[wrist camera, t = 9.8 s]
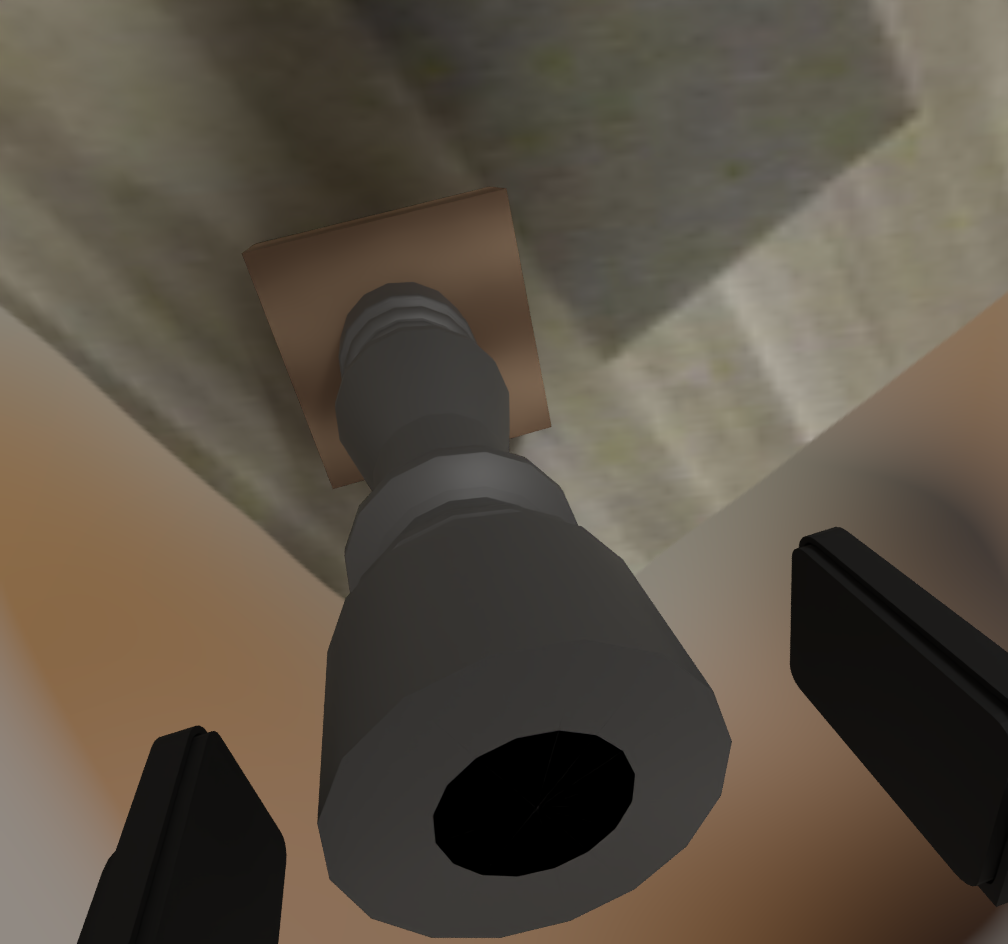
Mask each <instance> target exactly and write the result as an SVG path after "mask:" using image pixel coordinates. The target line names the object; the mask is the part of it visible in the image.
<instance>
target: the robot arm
mask: <svg viewBox="0 0 1008 944" xmlns="http://www.w3.org/2000/svg"><path fill="white" fill-rule="evenodd" d="M790 669H791V673H792V676H793V678H794V680H795V682H796V683H797V685H798V687H799V688H800V690H801V691H802V692H803V693H804V694H805V695H806V697H807V698H808V699H809V700H810V701H811V703H812V704H813V705H814V706H815V707H816V709H817V710H818V711H819V712H820V713H821V715H822V716H823V717H824V718H825V719H826V721H827V722H828V723H829V724H830V725H831V726H832V728H833V729H834V730H835V731H836V732H837V733H838V735H839V736H840V737H841V738H842V740H843V741H844V742H845V743H846V744H847V745H848V747H849V748H850V749H851V750H852V751H853V753H854V754H855V755H856V756H857V757H858V759H859V760H860V761H861V762H862V763H863V764H864V766H865V767H866V768H867V769H868V770H869V772H870V773H871V774H872V775H873V776H874V778H875V779H876V780H877V781H878V782H879V783H880V785H881V786H882V787H883V788H884V790H885V791H886V792H887V793H888V794H889V795H890V797H891V798H892V799H893V800H894V801H895V803H896V804H897V805H898V806H899V807H900V809H901V810H902V811H903V812H904V813H905V814H906V816H907V817H908V818H909V819H910V820H911V822H913V824H914V825H915V826H916V828H917V829H918V830H919V831H920V832H921V833H922V834H923V836H924V837H925V838H926V839H927V841H928V842H929V843H930V844H931V845H932V847H933V848H934V849H935V850H936V851H937V853H938V854H939V855H940V856H941V857H942V858H943V860H944V861H945V862H946V863H947V864H948V866H949V867H950V868H951V869H952V870H953V872H954V873H955V874H956V875H957V876H958V877H959V878H960V879H961V880H963V881H964V882H965V883H966V884H968V885H970V886H977V885H978V886H979V888H980V889H981V890H982V891H983V892H984V893H985V894H986V896H987V897H988V898H989V899H990V900H991V901H992V903H993V904H994V905H995V906H996V907H997V906H999V905H1002V904H1005V903H1007V902H1008V652H1006V651H1005V650H1004V649H1002V648H1001V647H1000V646H998V645H997V644H996V643H995V642H993V641H992V640H991V639H989V638H988V637H987V636H985V635H984V634H983V633H981V632H980V631H979V630H977V629H976V628H975V627H973V626H972V625H971V624H969V623H968V622H967V621H965V620H964V619H963V618H961V617H960V616H959V615H957V614H956V613H955V612H953V611H952V610H951V609H949V608H948V607H947V606H945V605H944V604H943V603H942V602H940V601H939V600H937V599H936V598H935V597H934V596H932V595H931V594H930V593H928V592H927V591H926V590H924V589H923V588H921V587H920V586H919V585H918V584H916V583H915V582H914V581H912V580H911V579H910V578H908V577H907V576H906V575H904V574H903V573H902V572H900V571H899V570H898V569H896V568H895V567H894V566H893V565H891V564H890V563H889V562H887V561H886V560H885V559H883V558H882V557H881V556H879V555H878V554H877V553H875V552H874V551H873V550H871V549H870V548H869V547H867V546H866V545H865V544H863V543H862V542H861V541H859V540H858V539H857V538H855V537H854V536H853V535H852V534H850V533H849V532H848V531H846V530H844V529H843V528H840V527H834V528H831V529H828V530H825V531H821V532H818V533H814V534H812V535H808V536H805V537H803V538H802V539H801V541H800V543H799V548H797V549H795V550H794V551H793V553H792V583H791V637H790ZM285 869H286V847H285V842H284V838H283V836H282V833H281V832H280V830H279V829H278V827H277V825H276V824H275V822H274V821H273V819H272V817H271V816H270V814H269V813H268V811H267V810H266V808H265V806H264V805H263V803H262V802H261V800H260V798H259V797H258V795H257V794H256V792H255V790H254V789H253V787H252V786H251V784H250V782H249V781H248V779H247V778H246V776H245V775H244V773H243V772H242V770H241V768H240V767H239V765H238V763H237V762H236V761H235V759H234V757H233V755H232V754H231V752H230V751H229V749H228V747H227V746H226V744H225V743H224V741H223V740H222V738H221V737H220V735H219V734H218V733H217V732H215V731H211V732H208V733H207V731H206V730H205V729H204V728H203V727H201V726H194V727H191V728H187V729H184V730H181V731H178V732H175V733H171V734H168V735H165V736H162V737H159V738H158V739H156V740H155V742H154V744H153V745H152V747H151V750H150V754H149V756H148V759H147V762H146V765H145V767H144V770H143V773H142V776H141V779H140V782H139V785H138V788H137V791H136V793H135V796H134V800H133V802H132V805H131V808H130V811H129V814H128V817H127V819H126V822H125V825H124V828H123V831H122V834H121V837H120V840H119V843H118V845H117V848H116V851H115V852H114V853H113V854H112V856H111V857H110V858H109V859H108V861H107V863H106V865H105V867H104V870H103V872H102V874H101V877H100V880H99V883H98V886H97V888H96V891H95V894H94V897H93V900H92V902H91V905H90V908H89V911H88V914H87V917H86V919H85V922H84V925H83V928H82V931H81V933H80V936H79V939H78V942H77V944H278V940H279V930H280V920H281V909H282V898H283V889H284V879H285Z"/></svg>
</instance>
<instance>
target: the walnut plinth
mask: <svg viewBox="0 0 1008 944" xmlns="http://www.w3.org/2000/svg"><path fill="white" fill-rule="evenodd" d="M242 255H243V258H244V260H245V263H246V266H247V268H248V271H249V273H250V276H251V278H252V281H253V284H254V286H255V289H256V291H257V294H258V297H259V299H260V302H261V304H262V307H263V309H264V312H265V315H266V317H267V320H268V322H269V325H270V327H271V330H272V333H273V335H274V338H275V340H276V343H277V346H278V348H279V351H280V353H281V356H282V358H283V361H284V364H285V366H286V369H287V371H288V374H289V377H290V379H291V382H292V384H293V387H294V389H295V392H296V395H297V397H298V400H299V402H300V405H301V408H302V410H303V413H304V415H305V418H306V420H307V423H308V426H309V428H310V431H311V433H312V436H313V438H314V441H315V444H316V446H317V449H318V451H319V454H320V457H321V459H322V462H323V464H324V467H325V469H326V472H327V475H328V477H329V480H330V482H331V485H332V488H333V489H334V488H338V487H342V486H345V485H349V484H352V483H356V482H359V481H363V480H365V479H364V478H363V476H362V475H361V473H360V472H359V470H358V469H357V467H356V465H355V464H354V462H353V461H352V459H351V457H350V456H349V454H348V453H347V451H346V449H345V448H344V446H343V445H342V443H341V441H340V440H339V433H338V425H337V418H336V411H335V401H336V398H337V394H338V391H339V388H340V384H341V381H342V380H341V372H340V365H339V346H340V338H341V334H342V331H343V327H344V324H345V320H346V317H347V314H348V313H349V312H350V311H351V309H352V308H353V307H354V306H355V305H356V304H357V302H358V301H359V300H360V299H361V298H362V296H363V295H364V294H366V293H368V292H371V291H373V290H375V289H377V288H379V287H381V286H383V285H385V284H387V283H402V282H415V283H418V284H421V285H423V286H426V287H429V288H432V289H434V290H437V291H439V292H440V293H441V294H442V295H443V296H444V297H445V298H446V299H448V300H449V301H450V302H451V303H452V304H453V305H454V306H455V307H456V308H457V309H458V310H459V312H460V313H461V314H462V316H463V317H464V318H465V320H466V321H467V323H468V325H469V327H470V329H471V331H472V333H473V336H474V338H475V340H476V342H477V344H478V346H479V347H480V348H482V349H483V350H484V351H485V352H486V353H487V354H488V355H489V356H490V357H491V358H493V360H494V361H495V362H496V364H497V367H498V369H499V371H500V373H501V375H502V378H503V380H504V382H505V384H506V386H507V389H508V391H509V408H510V435H509V439H510V438H514V437H517V436H521V435H524V434H528V433H531V432H535V431H538V430H542V429H546V428H549V427H551V422H550V417H549V411H548V406H547V401H546V395H545V390H544V385H543V380H542V374H541V369H540V364H539V359H538V353H537V348H536V343H535V337H534V332H533V327H532V322H531V316H530V311H529V306H528V301H527V295H526V290H525V285H524V280H523V274H522V269H521V264H520V258H519V253H518V248H517V243H516V237H515V232H514V227H513V222H512V216H511V211H510V206H509V201H508V195H507V190H506V188H497V187H486V188H482V189H478V190H474V191H470V192H466V193H462V194H458V195H453V196H449V197H445V198H441V199H437V200H433V201H429V202H425V203H421V204H417V205H413V206H409V207H404V208H400V209H396V210H392V211H388V212H384V213H380V214H376V215H372V216H368V217H364V218H359V219H355V220H351V221H347V222H343V223H339V224H335V225H331V226H327V227H323V228H319V229H314V230H310V231H306V232H302V233H298V234H294V235H290V236H286V237H282V238H278V239H274V240H269V241H265V242H261V243H257V244H254V245H253V246H251V247H250V248H249V249H247V250H246V251H245V252H243V253H242Z"/></svg>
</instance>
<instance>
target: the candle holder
mask: <svg viewBox="0 0 1008 944" xmlns="http://www.w3.org/2000/svg"><path fill="white" fill-rule="evenodd" d="M339 365H340V372H341V380H342V381H341V384H340V388H339V391H338V394H337V398H336V401H335V411H336V418H337V425H338V433H339V440H340V441H341V443H342V445H343V446H344V448H345V449H346V451H347V453H348V454H349V456H350V457H351V459H352V461H353V462H354V464H355V465H356V467H357V469H358V470H359V472H360V473H361V475H362V476H363V478H364V479H365V481H366V482H367V484H368V485H369V487H370V489H371V490H372V492H371V493H370V494H369V495H368V496H367V498H366V499H365V500H364V501H363V502H362V503H361V504H360V505H359V508H358V511H357V514H356V517H355V520H354V523H353V526H352V529H351V532H350V535H349V538H348V541H347V544H346V547H345V562H346V569H347V575H348V582H349V589H350V594H349V595H348V596H347V597H346V599H345V602H344V605H343V608H342V611H341V614H340V616H339V619H338V622H337V625H336V628H335V631H334V634H333V637H332V640H331V643H330V645H329V649H328V652H327V668H326V686H325V702H324V720H323V737H322V755H321V771H320V788H319V805H318V822H317V824H318V829H319V833H320V838H321V842H322V847H323V851H324V856H325V860H326V865H327V870H328V874H329V879H330V880H331V881H332V882H333V883H334V884H335V885H336V886H337V887H338V888H339V889H340V890H341V891H343V892H344V893H345V894H346V895H347V896H348V897H349V898H350V899H351V900H352V901H353V902H354V903H356V905H357V906H359V907H360V908H361V909H362V910H363V911H364V912H365V913H366V914H367V915H368V916H369V917H370V918H372V919H375V920H378V921H381V922H384V923H387V924H391V925H394V926H397V927H400V928H403V929H406V930H409V931H412V932H415V933H418V934H422V935H425V936H428V937H431V938H502V937H505V936H510V935H514V934H518V933H522V932H526V931H530V930H534V929H539V928H543V927H547V926H551V925H555V924H559V923H563V922H567V921H571V920H573V919H575V918H577V917H579V916H581V915H583V914H585V913H587V912H589V911H591V910H593V909H595V908H597V907H599V906H601V905H603V904H605V903H608V902H610V901H611V900H614V899H615V898H618V897H620V896H622V895H623V894H626V893H628V892H630V891H632V890H634V889H635V888H637V887H638V886H639V885H640V884H641V883H643V882H644V881H645V880H646V879H647V878H649V877H650V876H651V875H652V874H653V873H655V872H656V871H657V870H658V869H660V868H661V867H662V866H663V865H664V864H666V863H667V862H668V861H669V860H671V858H673V857H674V856H675V855H677V854H678V853H679V852H680V851H681V850H683V849H684V848H685V847H686V846H687V845H688V843H689V842H690V840H691V839H692V837H693V836H694V835H695V833H696V832H697V830H698V828H699V827H700V826H701V824H702V823H703V821H704V820H705V818H706V817H707V815H708V814H709V812H710V811H711V809H712V808H713V806H714V805H715V804H716V802H717V800H718V799H719V798H720V796H721V793H722V788H723V782H724V777H725V773H726V768H727V763H728V758H729V753H730V747H731V743H732V741H731V738H730V735H729V732H728V730H727V727H726V725H725V722H724V719H723V716H722V714H721V711H720V708H719V705H718V703H717V700H716V697H715V695H714V692H713V690H712V689H711V687H710V686H709V684H708V683H707V682H706V680H705V678H704V677H703V676H702V674H701V673H700V671H699V670H698V669H697V667H696V665H695V664H694V662H693V661H692V659H691V658H690V657H689V655H688V654H687V652H686V651H685V649H684V648H683V646H682V645H681V644H680V642H679V641H678V639H677V638H676V636H675V635H674V633H673V632H672V630H671V629H670V627H669V626H668V625H667V623H666V622H665V620H664V619H663V617H662V616H661V614H660V613H659V611H658V610H657V609H656V607H655V606H654V604H653V603H652V601H651V600H650V598H649V597H648V595H647V594H646V592H645V591H644V590H643V588H642V587H641V585H640V584H639V582H638V581H637V579H636V578H635V576H634V575H633V573H632V572H631V571H630V569H629V568H628V566H627V565H626V563H625V562H624V560H623V559H621V558H620V557H619V556H618V555H617V554H615V553H614V552H613V551H612V550H610V549H609V548H608V547H607V546H605V545H604V544H603V543H602V542H600V541H599V540H598V539H597V538H596V537H594V536H593V535H592V534H591V533H589V532H588V531H587V530H586V529H584V528H583V527H582V526H578V524H577V522H576V520H575V517H574V515H573V513H572V510H571V508H570V506H569V504H568V501H567V499H566V497H565V495H564V492H563V491H562V489H561V487H560V486H559V485H558V484H557V483H556V482H554V481H553V480H552V479H551V478H550V477H548V476H547V475H546V474H545V473H544V472H542V471H541V470H540V469H539V468H538V467H536V466H535V465H534V464H533V463H532V462H530V461H529V460H528V459H527V458H525V457H522V456H519V455H515V454H512V453H509V435H510V408H509V391H508V389H507V386H506V384H505V382H504V380H503V378H502V375H501V373H500V371H499V369H498V367H497V364H496V362H495V361H494V360H493V358H491V357H490V356H489V355H488V354H487V353H486V352H485V351H484V350H483V349H482V348H480V347H479V346H478V344H477V342H476V340H475V338H474V336H473V333H472V331H471V329H470V327H469V325H468V323H467V321H466V320H465V318H464V317H463V316H462V314H461V313H460V312H459V310H458V309H457V308H456V307H455V306H454V305H453V304H452V303H451V302H450V301H449V300H448V299H446V298H445V297H444V296H443V295H442V294H441V293H440V292H439V291H437V290H434V289H432V288H429V287H426V286H423V285H421V284H418V283H415V282H402V283H387V284H385V285H383V286H381V287H379V288H377V289H375V290H373V291H371V292H368V293H366V294H364V295H363V296H362V298H361V299H360V300H359V301H358V302H357V304H356V305H355V306H354V307H353V308H352V309H351V311H350V312H349V313H348V314H347V317H346V320H345V324H344V327H343V331H342V334H341V338H340V346H339Z"/></svg>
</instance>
